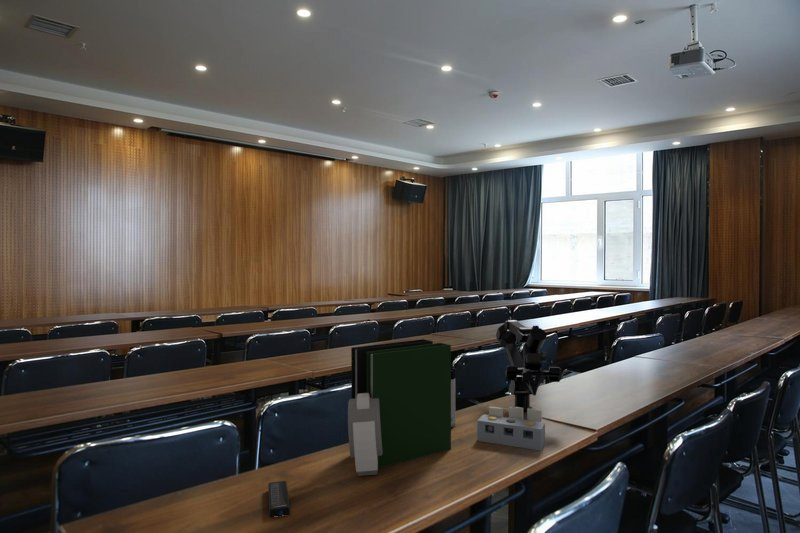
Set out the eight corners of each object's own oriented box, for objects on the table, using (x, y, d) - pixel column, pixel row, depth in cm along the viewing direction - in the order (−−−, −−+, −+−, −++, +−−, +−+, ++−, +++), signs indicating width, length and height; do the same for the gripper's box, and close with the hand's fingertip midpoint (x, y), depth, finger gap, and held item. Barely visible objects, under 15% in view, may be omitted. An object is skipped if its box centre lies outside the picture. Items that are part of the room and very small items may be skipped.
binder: (374, 470, 137) (374, 354, 137) (349, 453, 149) (349, 346, 149) (450, 449, 152) (450, 345, 152) (422, 435, 165) (421, 338, 164)
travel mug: (455, 428, 171) (455, 370, 171) (436, 427, 172) (436, 369, 172) (457, 423, 177) (457, 366, 177) (438, 421, 178) (438, 366, 178)
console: (483, 433, 166) (483, 413, 166) (545, 443, 157) (545, 421, 157) (477, 440, 159) (477, 419, 159) (541, 450, 151) (541, 428, 151)
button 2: (509, 424, 166) (509, 406, 166) (523, 425, 164) (523, 407, 164) (504, 430, 160) (504, 412, 160) (518, 432, 158) (518, 414, 158)
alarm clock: (354, 453, 147) (349, 386, 146) (382, 451, 148) (378, 384, 147) (351, 483, 130) (346, 406, 129) (383, 480, 130) (378, 404, 129)
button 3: (527, 426, 164) (527, 408, 164) (541, 428, 162) (541, 410, 162) (523, 433, 157) (523, 414, 157) (537, 435, 155) (537, 416, 155)
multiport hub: (286, 489, 127) (286, 480, 126) (289, 517, 113) (289, 507, 113) (268, 491, 125) (268, 482, 125) (269, 520, 111) (269, 509, 111)
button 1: (489, 424, 166) (489, 406, 166) (502, 426, 164) (502, 408, 164) (483, 431, 159) (483, 412, 159) (497, 433, 157) (497, 414, 157)
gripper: (506, 342, 177) (507, 381, 166) (560, 344, 173) (565, 383, 163) (505, 360, 185) (506, 398, 174) (557, 362, 181) (562, 400, 170)
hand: (534, 394), depth 170 cm, fingers closed
